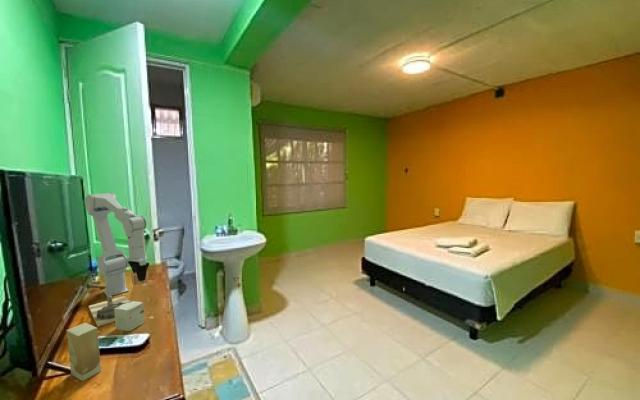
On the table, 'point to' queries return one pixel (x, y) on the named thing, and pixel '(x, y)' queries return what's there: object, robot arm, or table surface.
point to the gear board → (104, 304)
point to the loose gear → (136, 281)
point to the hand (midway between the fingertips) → (139, 278)
